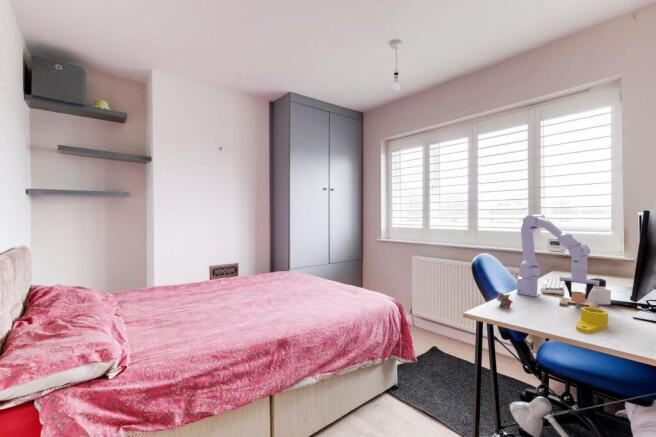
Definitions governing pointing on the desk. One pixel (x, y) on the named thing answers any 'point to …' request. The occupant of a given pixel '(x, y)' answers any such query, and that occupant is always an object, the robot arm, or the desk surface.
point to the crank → (592, 320)
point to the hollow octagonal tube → (578, 296)
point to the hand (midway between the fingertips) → (578, 298)
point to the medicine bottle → (599, 293)
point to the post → (578, 305)
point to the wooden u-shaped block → (568, 301)
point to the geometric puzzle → (504, 300)
